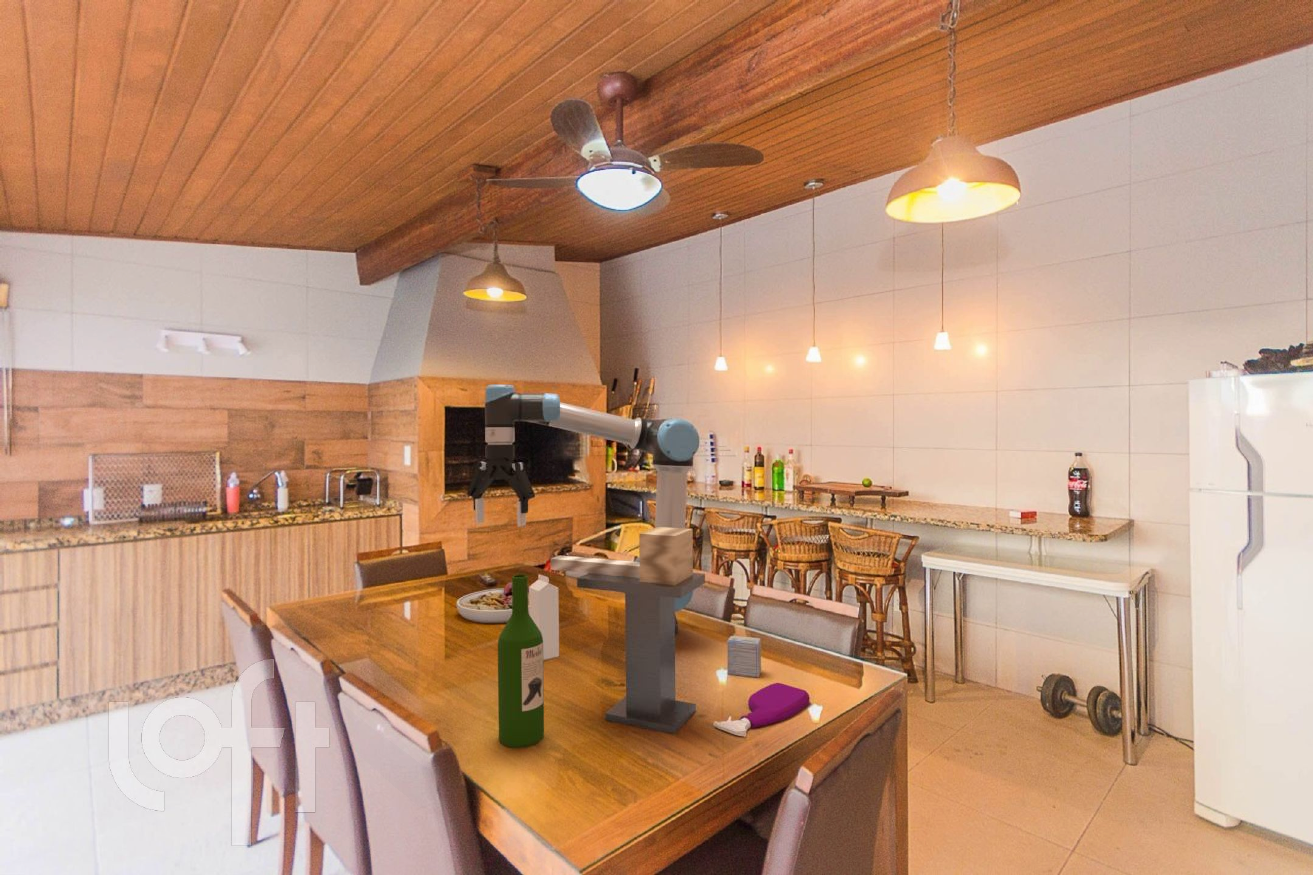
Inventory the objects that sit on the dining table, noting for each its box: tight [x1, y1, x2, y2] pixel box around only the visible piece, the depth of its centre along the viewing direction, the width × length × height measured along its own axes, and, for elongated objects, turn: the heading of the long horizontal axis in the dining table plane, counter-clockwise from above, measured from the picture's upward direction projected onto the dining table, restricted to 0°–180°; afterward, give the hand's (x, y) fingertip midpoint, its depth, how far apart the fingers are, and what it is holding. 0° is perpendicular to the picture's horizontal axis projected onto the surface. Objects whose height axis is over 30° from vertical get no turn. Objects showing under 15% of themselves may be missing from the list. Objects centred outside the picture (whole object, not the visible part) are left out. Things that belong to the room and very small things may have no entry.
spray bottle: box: [712, 682, 811, 738], centre depth 140 cm, size 3×11×24 cm
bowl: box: [456, 581, 530, 624], centre depth 221 cm, size 30×30×8 cm
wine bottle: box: [497, 574, 545, 749], centre depth 130 cm, size 9×9×32 cm
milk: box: [528, 573, 560, 661], centre depth 177 cm, size 6×6×22 cm
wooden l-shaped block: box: [549, 527, 694, 585], centre depth 143 cm, size 32×10×10 cm, turn 66°
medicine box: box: [726, 635, 762, 678], centre depth 164 cm, size 8×4×9 cm, turn 71°
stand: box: [576, 572, 706, 735], centre depth 141 cm, size 24×14×30 cm, turn 66°
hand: (500, 524), depth 171 cm, fingers open, 13 cm apart
